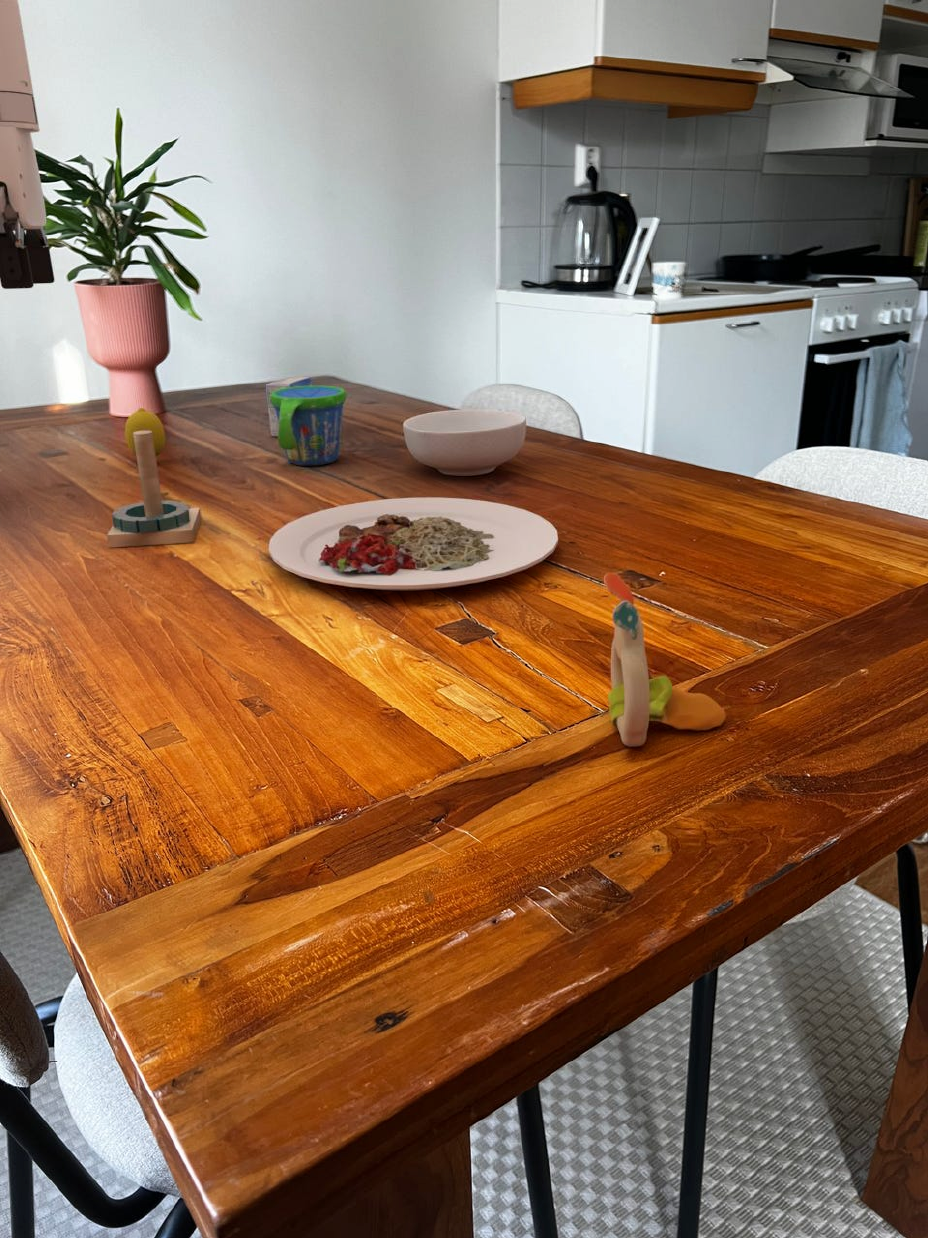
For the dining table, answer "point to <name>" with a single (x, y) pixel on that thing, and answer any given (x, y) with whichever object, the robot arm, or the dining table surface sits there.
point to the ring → (136, 521)
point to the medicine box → (276, 386)
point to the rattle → (647, 681)
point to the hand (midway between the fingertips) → (29, 285)
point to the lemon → (145, 429)
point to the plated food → (413, 543)
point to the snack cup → (309, 423)
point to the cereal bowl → (465, 439)
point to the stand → (152, 503)
